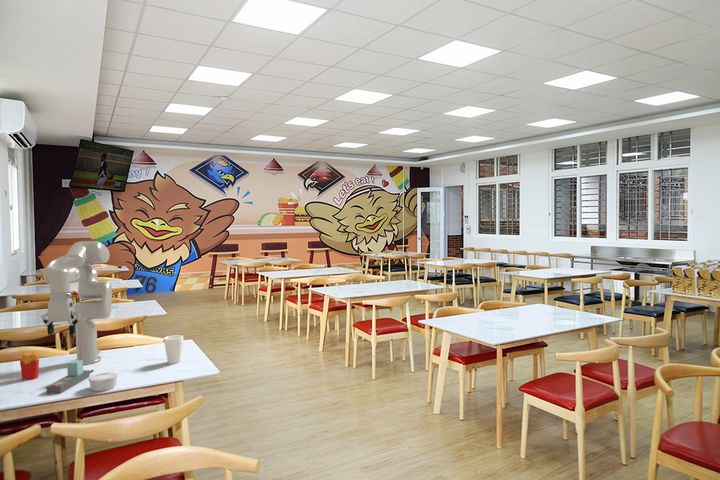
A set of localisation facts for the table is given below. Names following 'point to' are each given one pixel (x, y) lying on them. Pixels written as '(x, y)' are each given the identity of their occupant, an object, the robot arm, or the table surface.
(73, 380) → the power strip
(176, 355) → the foam cup
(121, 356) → the table surface
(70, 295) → the robot arm
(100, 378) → the ramekin
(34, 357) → the french fries
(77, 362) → the block
